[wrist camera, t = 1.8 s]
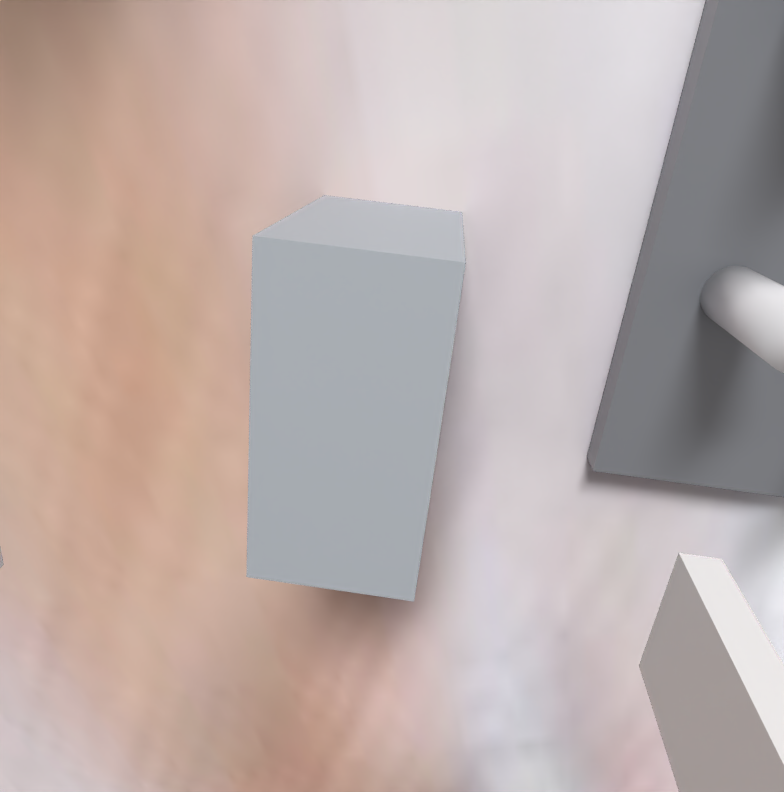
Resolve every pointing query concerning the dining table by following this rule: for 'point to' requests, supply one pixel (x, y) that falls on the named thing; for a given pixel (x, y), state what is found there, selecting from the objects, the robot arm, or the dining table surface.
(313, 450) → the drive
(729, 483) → the grey peg board
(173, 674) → the dining table surface
